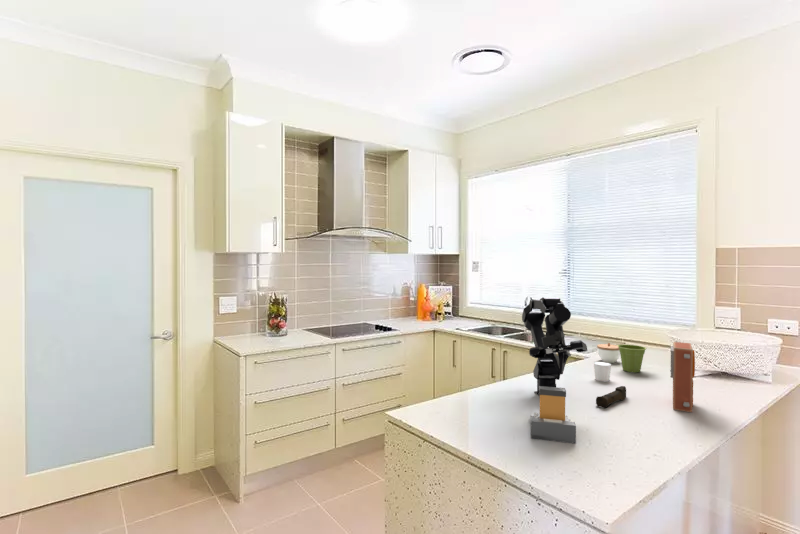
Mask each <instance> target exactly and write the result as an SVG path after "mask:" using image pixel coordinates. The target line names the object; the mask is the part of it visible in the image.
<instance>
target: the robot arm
mask: <svg viewBox="0 0 800 534" xmlns="http://www.w3.org/2000/svg"><path fill="white" fill-rule="evenodd" d="M533 310H535V311H533ZM536 310H537V311H536ZM546 314H547V315H546ZM571 316H572V313H571V311H570V309H569V308H567V307H566V304H564V302H563V300H561V298H560V297H552V296H551V297H547V296H546V297H542V298H540V299H539V298H538V299H536V298H534V299H530V300H529V303H528V304H527V305H526V306H525V307H524V308H523V310H522V315H521V320H522V323H523V324H524V327H525V328H526V329H527V330H528V331H530V334H531V336H532V341H533V343H534V346H533V347H530V348H529V350H528V351H529V353H528V354H529V356H530V357H532V358H535V359H536V363H535V365H534V369H533V371H532V372H533V377H534V378H535V379H536V384H537V385H536V387H537V388H536V390H535V391H533V393H534V394H535V395H538V396H540V395H539V386H545V387H557V383H556V381H557V380H559V381H560V378H561V376H562V375H563V374H564V370H565V368H566V363H567V361H568V359H569V357H571V356H572V354H571V351H576V352H578V353H585V352H588V346H587V344H586V343H585V342H583V341H582V340H573V341H570V342H569V344H567V345H566V341H565V340H566V339H565V337H566V335H565V333H564V328H563V327H564V325H565V324H566V323H567V322H568V321H569V320H570V319H571ZM543 324H544V325H545V333H544V329H543Z"/></svg>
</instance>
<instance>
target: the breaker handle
mask: <svg viewBox="0 0 800 534" xmlns="http://www.w3.org/2000/svg"><path fill="white" fill-rule="evenodd" d="M538 396H539V416H540V418H542V419H553V420H562V421H565V415H566V397H567V390H566V388H565V387H557V386H556V387H545V386H539V395H538Z"/></svg>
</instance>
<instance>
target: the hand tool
mask: <svg viewBox="0 0 800 534" xmlns="http://www.w3.org/2000/svg"><path fill="white" fill-rule="evenodd" d="M595 398H596V399H595V404H596V406H597V407H599V408H602V409H603V408H604V409H606V408H608V407H609V405H611V404H614V403H617V402H618V401H624V400H625V399H626V398H627V387H626V385H625V386H624V385H620V386H618V387H616V388H615V390H614V391H612V392H611V391H610V392H609V393H607V394H604V395H601V396H597V397H595Z"/></svg>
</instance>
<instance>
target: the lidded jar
mask: <svg viewBox="0 0 800 534" xmlns="http://www.w3.org/2000/svg"><path fill="white" fill-rule="evenodd" d="M596 345H597V356H598V357H599V359H600V360H601V362H606V363H610V364H613V363H614V364H615V363H616V362H617V361H618V360H619V359H620V358H621V355H620V351H619V347H618V345H617V344H611V343H610V342H607V343H602V344H601V343H600V344H596Z"/></svg>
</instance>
